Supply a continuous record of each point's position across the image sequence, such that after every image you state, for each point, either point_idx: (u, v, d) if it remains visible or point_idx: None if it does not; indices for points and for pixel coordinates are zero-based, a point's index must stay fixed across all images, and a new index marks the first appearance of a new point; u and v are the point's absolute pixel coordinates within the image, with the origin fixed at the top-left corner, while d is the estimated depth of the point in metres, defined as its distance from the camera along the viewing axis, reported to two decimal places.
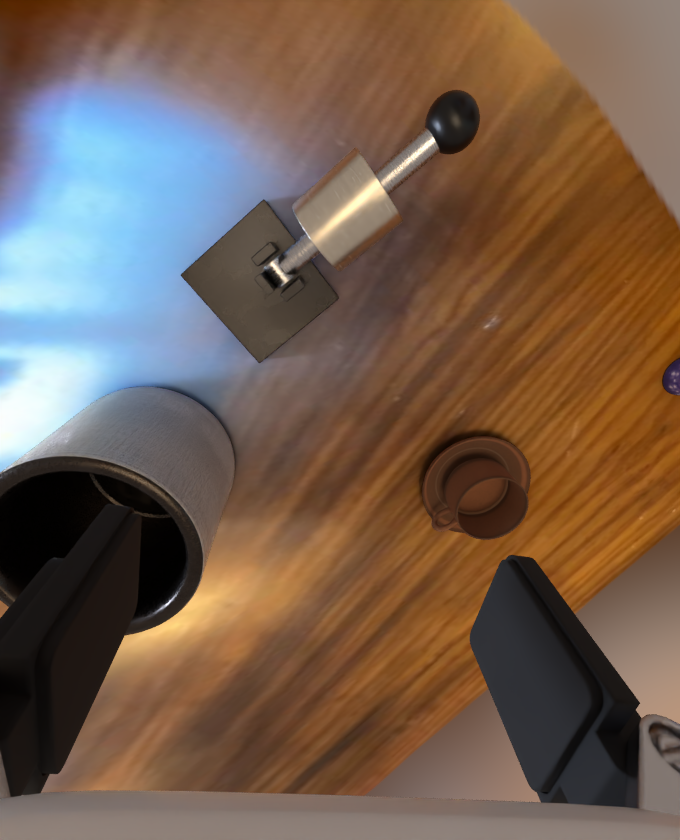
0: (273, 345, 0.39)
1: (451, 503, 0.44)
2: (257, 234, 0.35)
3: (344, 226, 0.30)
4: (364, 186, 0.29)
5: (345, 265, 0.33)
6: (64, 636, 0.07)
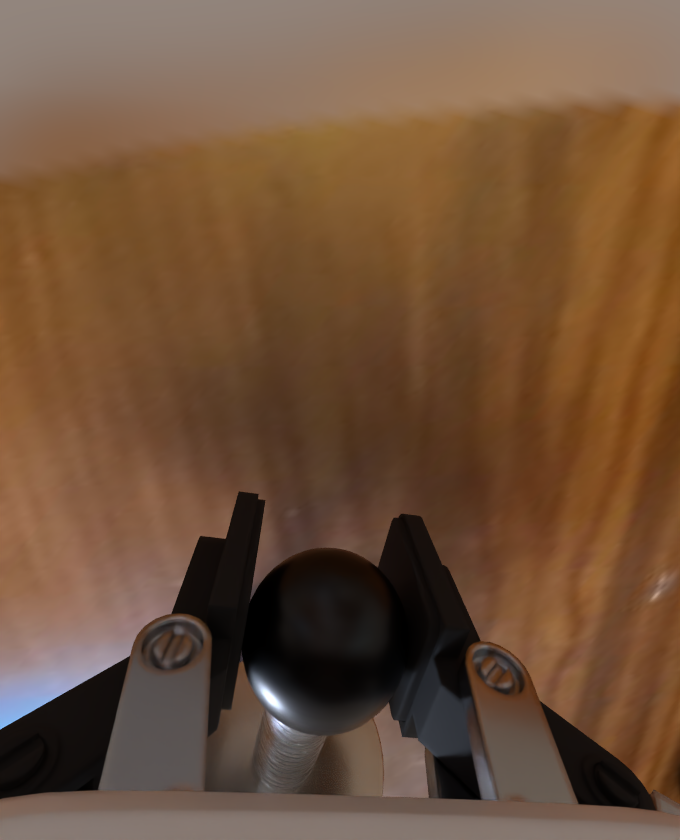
0: None
1: None
2: None
3: None
4: None
5: None
6: None
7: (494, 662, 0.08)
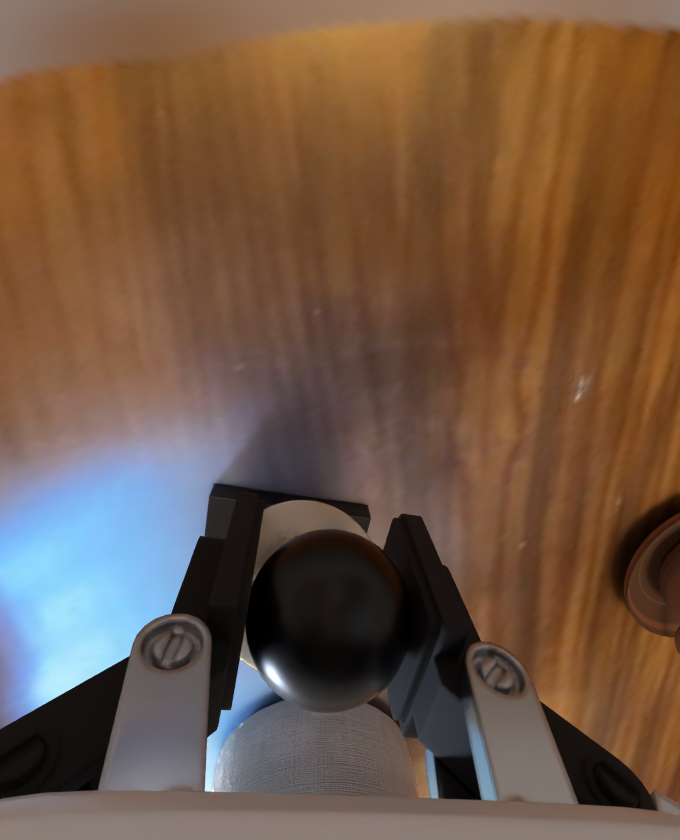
0: None
1: None
2: None
3: None
4: None
5: None
6: None
7: (494, 662, 0.08)
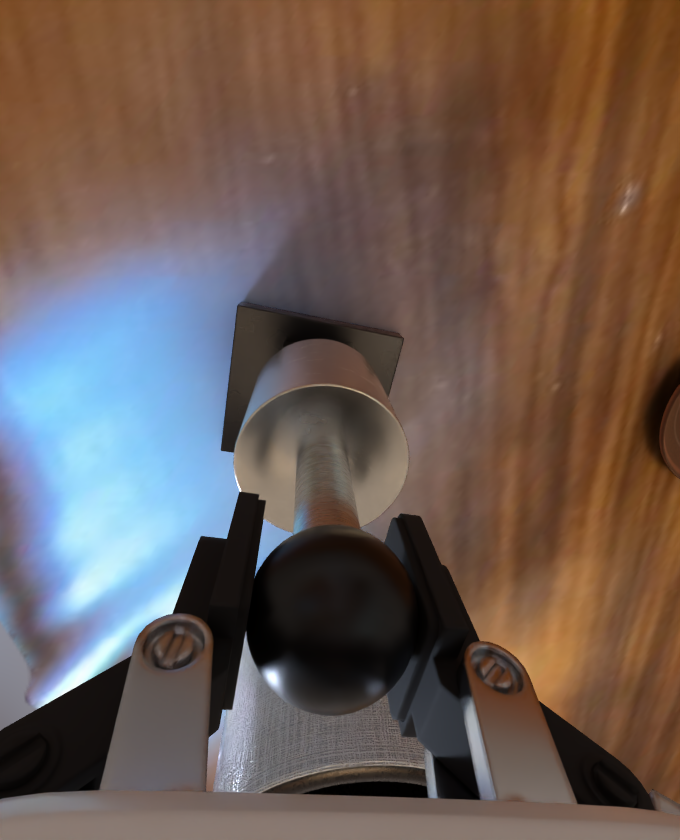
0: None
1: None
2: (260, 347, 0.25)
3: None
4: None
5: None
6: None
7: (493, 662, 0.08)
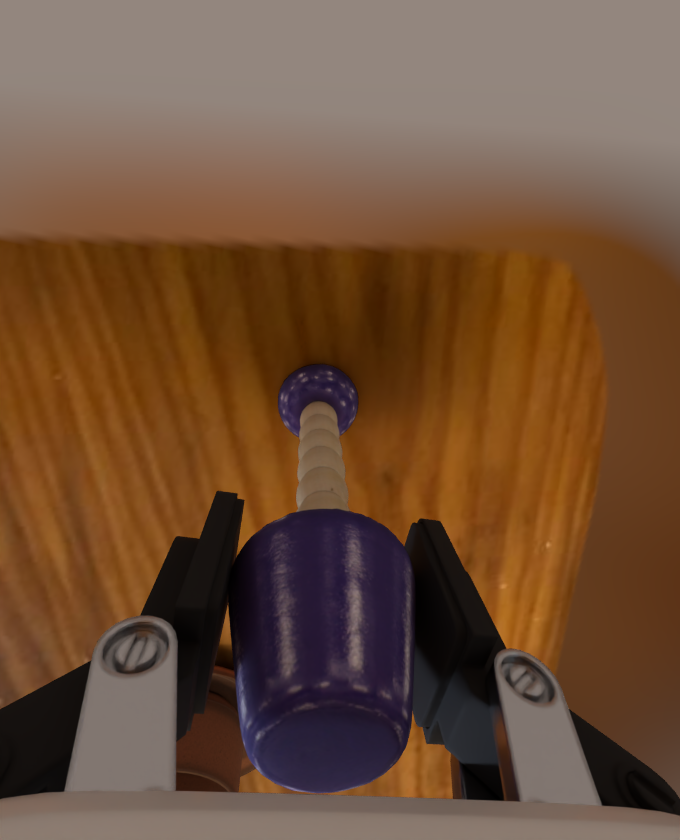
0: None
1: None
2: None
3: None
4: None
5: None
6: (220, 595, 0.08)
7: (524, 670, 0.08)
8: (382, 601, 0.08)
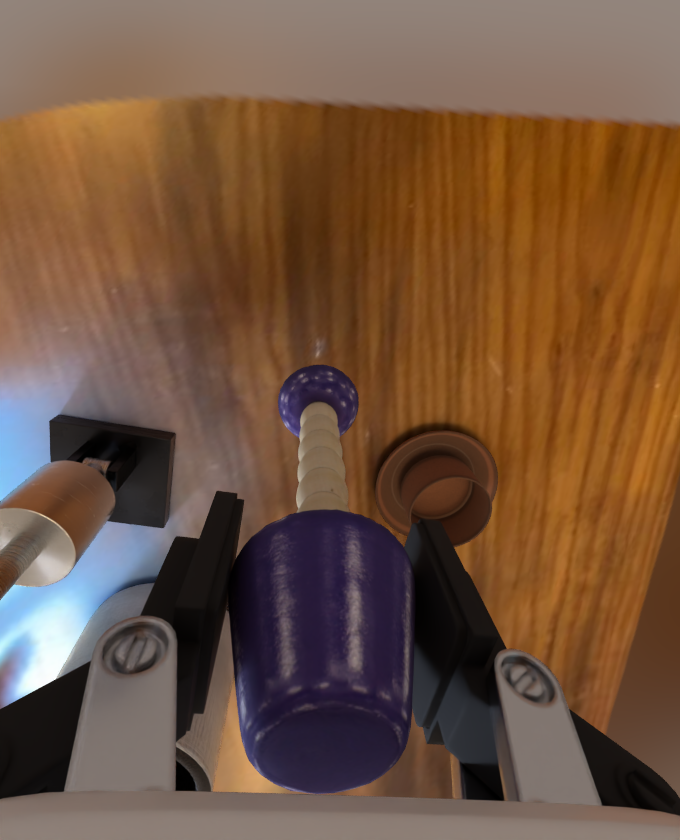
0: (160, 509, 0.40)
1: None
2: (69, 446, 0.37)
3: None
4: None
5: (108, 517, 0.32)
6: (219, 595, 0.08)
7: (524, 670, 0.08)
8: (381, 602, 0.08)
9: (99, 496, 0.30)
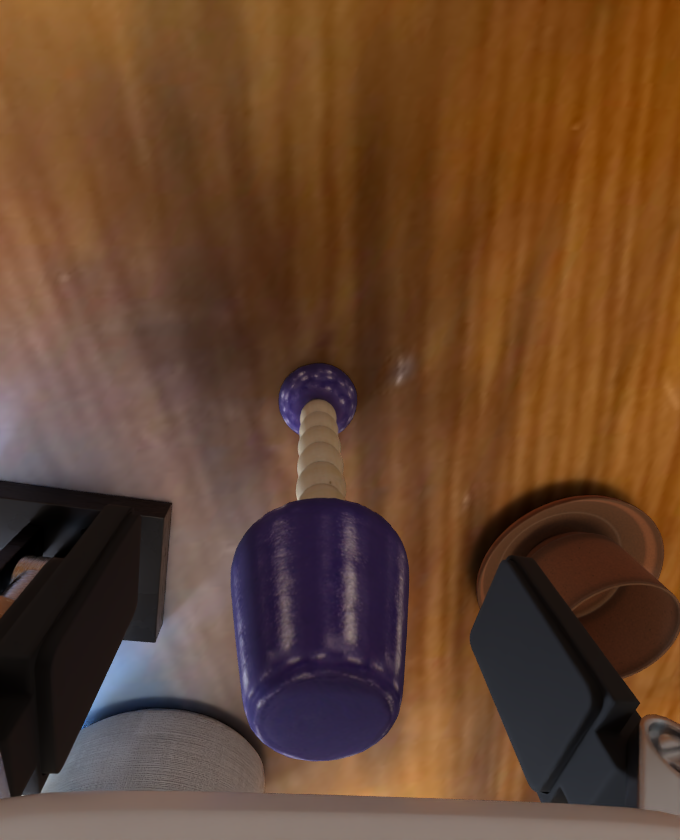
0: (149, 617, 0.26)
1: None
2: (1, 531, 0.23)
3: None
4: None
5: None
6: (64, 636, 0.07)
7: (678, 744, 0.07)
8: (375, 582, 0.09)
9: None
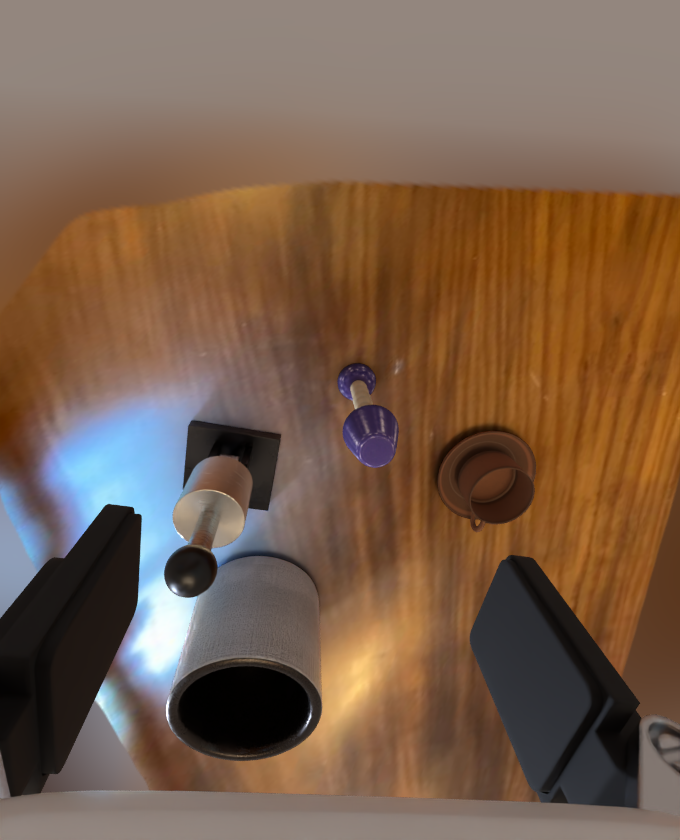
0: (266, 495, 0.50)
1: None
2: (201, 445, 0.47)
3: None
4: None
5: None
6: (64, 636, 0.07)
7: (679, 744, 0.07)
8: (388, 423, 0.33)
9: (248, 482, 0.40)
